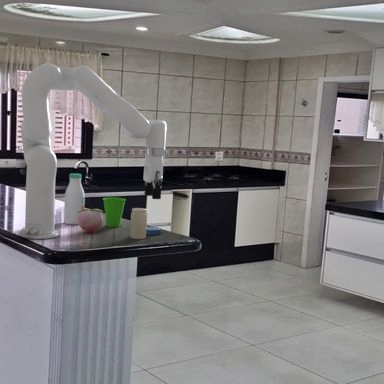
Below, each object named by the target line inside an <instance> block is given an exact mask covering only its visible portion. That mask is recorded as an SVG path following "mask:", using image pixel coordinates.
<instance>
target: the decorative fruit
mask: <svg viewBox="0 0 384 384" xmlns="http://www.w3.org/2000/svg"><path fill="white" fill-rule="evenodd" d="M81 211H82V212H81ZM79 212H81V213H80V214H79V216H78V224H77V225H78V226H79V227H80V229H82V230H83V231H85V232H87V233H89V234H91V233H93V232H95V231H97V230H98V229H100V228H101V226H102V225H103V223H104V217H103V214H105V211H104V210H102V209H99V208H92V206H90V205H89V208H84V209H82V210H80V211H79ZM79 212H78V213H79ZM102 213H103V214H102Z"/></svg>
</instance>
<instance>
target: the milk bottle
mask: <svg viewBox="0 0 384 384" xmlns="http://www.w3.org/2000/svg"><path fill="white" fill-rule="evenodd" d="M68 175H69V176H68V177H69V182H68V185H67V188H66V189H65V192H64V208H63V209H64V210H63V223H64V224H67V225H79V224H78V216H79V214H80V213H81V212H82V211H81V212H79V211H80V210H82V209H85V204H86V202H85V201H86V198H85V191H84V188H83V185H82V174H81V173H70V174H68ZM78 212H79V213H78Z"/></svg>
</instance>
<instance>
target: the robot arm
mask: <svg viewBox="0 0 384 384" xmlns="http://www.w3.org/2000/svg"><path fill="white" fill-rule="evenodd" d="M51 90H52V91H53V90H54V91H79V92H80V93H81V94H82V95H83V96H85V98H86V99H88V100H89V101H90V102H91V103H92V104H93V105H94V106H95V107H96V108H97V109H98V110H99V111H101V112H102V113H104V114H106V115H108V116H110V117H112V118H113V119H114V120H116V121H117V122H119V123H120V124H121V125H122V126H123V131H124V134H126V136H128V137H129V138H132V139H137V140H138V139H139V140H142V139H145V140H144V157H145V159H144V167H143V178H142V179H143V181H144V196H146V197H151V199H152V200H161V199H162V187H163V186H162V184H163V183H162V182H163V179H164V178H163V176H164V175H163V174H164V158H165V157H166V141H167V140H166V139H167V122H166V121H165V120H162V119H161V120H160V119H147V118H146V117H145V116H144V115H143V114H142V113H141V112H140V111H138V110H137V109H136V108H135V107H134V106H133V105H131V103H129V101H127V100H126V99H124V98H123V97H122V96H121V95H119V94H118V93H117V92H116V91H115V90H114V89H113V88H112V87H111V86H110V85H109V84H108V83H107V82H105V81H104V80H103V78H101V77H100V75H98V73H96V72H95V71H94V70H93V69H92V68H90V67H89V66H87V65H85V64H84V65H81V64H80V65H77V66H60V65H59V66H57V65H56V64H54V63H52V62H45V63H42V64H40V65H38V66H37V67H35V68H34V69H33V70H32V71H30V73H28V75H27V76H26V78H25V80H24V82H23V84H22V88H21V107H22V118H23V120H22V121H21V124H20V134H21V135H20V136H21V143H22V144H21V145H22V150H23V158H24V163H25V164H26V177H25V178H26V179H25V182H26V183H25V214H24V215H25V216H24V217H25V219H24V220H25V222H24V228H22V229H20V231H19V236H20V237H21V238H24V239H32V240H38V239H39V240H45V239H46V240H47V239H54V238H57V237H59V232H58V231H57V230H55V209H56V208H55V206H56V205H55V204H56V177H57V169H58V160H57V156H56V153H55V152H54V151H53V150H52V144H51V135H52V133H53V132H52V131H53V127H52V123H51V115H50V114H51V113H50V104H49V102H50V101H49V95H50V92H51Z"/></svg>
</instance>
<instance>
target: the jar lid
mask: <svg viewBox="0 0 384 384" xmlns="http://www.w3.org/2000/svg"><path fill="white" fill-rule="evenodd" d="M161 233H162V230H161V227H158V226H156V227H155V226H147V229H146V236H157V235H160V234H161Z"/></svg>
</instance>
